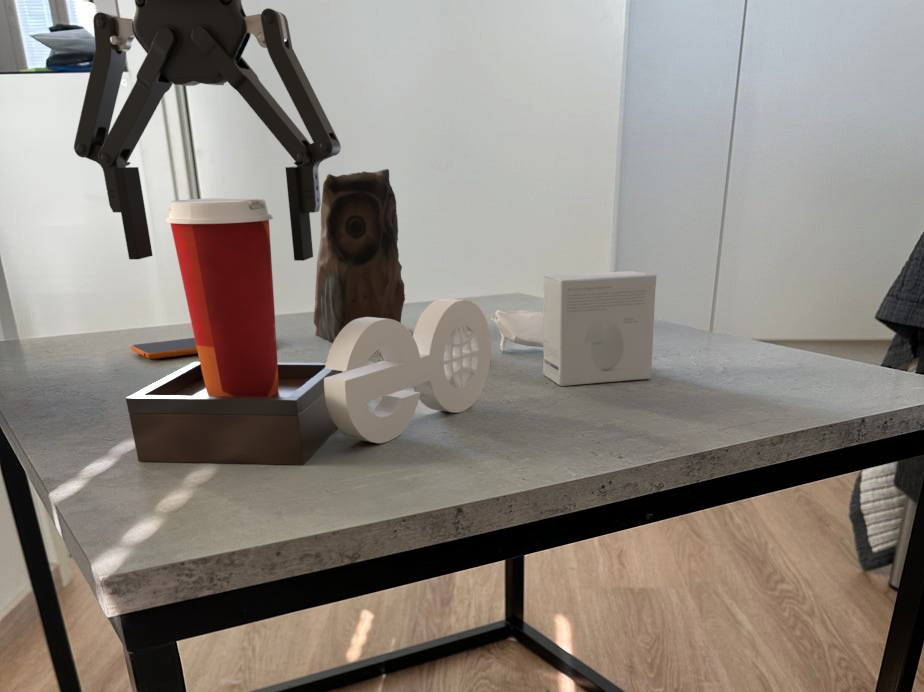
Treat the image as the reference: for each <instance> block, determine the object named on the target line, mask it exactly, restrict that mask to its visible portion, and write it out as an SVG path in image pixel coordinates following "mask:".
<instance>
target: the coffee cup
mask: <svg viewBox="0 0 924 692" xmlns="http://www.w3.org/2000/svg"><path fill="white" fill-rule="evenodd" d="M270 220H274V217H273V215H272V214H271V213H269V211H268V207H267V203H266V200H265V199H264V198H260V197H217V198H216V197H215V198H213V197H212V198H191V199H178V200H177V199H176V200H171V201H170V208H169V209H168V217H165V223H167V224H170V228H171V233H172V238H173V242H174V247H175V251H176V256H177V261H178V265H179V270H180V275H181V280H182V284H183V290H184V293H185V299H186V303H187V308H188V313H189V318H190V322H191V328H192V331H193V338H195V342H196V346H197V351H198V353H197V355H198V359H199V362H200V364H201V369H202V373H203V378H204V382H205V386H206V390H207V394H208V396H234V397H270V396H273V395H275V394H277V393H278V363H277V362H278V345H277V329H276V313H275V312H276V311H275V296H274V280H273V279H274V278H273V263H272V247H271V230H270Z"/></svg>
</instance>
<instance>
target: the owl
mask: <svg viewBox="0 0 924 692" xmlns="http://www.w3.org/2000/svg"><path fill="white" fill-rule="evenodd" d="M390 182H391V181H390V170H389V168H384V169H381V170H377V171H372V172H371V171H362V172H350V173H348V174H340V175H337V176H336V175H333V174H330V173H328V174H327V175H326V178H325V179H324V181H323V183H322V193H321V205H320V241H319V249H318V253H317V260H316V275H315V276H316V277H315V295H314V308H313V309H314V312H313V324H314V326H315V336H317V337H320V338H322V339H323V340H327V341H328V342H329V343H332V344H333V342H334V340H335V339H336V337H337V335H338V334H339V332H340V331H341V330H342V329H343V328H344V327H345V326H346V325H347V324H348V323H349V322H351V321H353V320H355V319H358V318H363V317H375V318H385V319H393V320H396V321H398V322H400V323H401V324H402V315H403V310H404V309H403V308H404V303H405V302H406V295H405V283H404V280H403V279H402V269H403V268H402V267H403V266H402V264H401V262H400V260H399V257H400V253H399V247H398V242H399V241H398V240H399V222H398V220H399V219H398V213H397V198H396V194H395V192H394V190H393V187H392V185H391V183H390Z"/></svg>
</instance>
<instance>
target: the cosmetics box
mask: <svg viewBox="0 0 924 692" xmlns="http://www.w3.org/2000/svg"><path fill="white" fill-rule="evenodd" d="M657 278H658V277H657V275H656V274H652V273H646V272H641V271H636V270H629V271H627V270H625V271H624V270H623V271H611V272H610V271H609V272H592V273H591V272H590V273H571V274H554V275H544V276H543V313H544V347H542V348H543V351H542V353H543V354H542V355H543V364H542V365H543V366H542V367H543V372H542V373H543V376H545V377H546V378H548V379H550V380H551V381H552V382H554V383H555V384H557V385H558V386H560V387H568V386H576V385H577V386H578V385H588V384H589V385H591V384H600V383H601V384H602V383H614V382H626V381H638V380H639V381H640V380H649V379H652V375H653V374H652V373H653V371H652V370H653V369H652V368H653V347H654V326H655V306H656V305H655V304H656V288H657Z"/></svg>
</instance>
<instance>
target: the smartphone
mask: <svg viewBox="0 0 924 692" xmlns="http://www.w3.org/2000/svg"><path fill="white" fill-rule="evenodd" d="M130 350H131V351H132V352H134V353H137V354H138V355H141V356H142V357H144V358H145V359H149V360H156V359H164V358H172V357H173V358H174V357H180V356H189V355H198V351H197V346H196V342H195V337H189V338H180V339H172V340H163V341H153V342H146V343H138V344H132V345H130Z"/></svg>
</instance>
